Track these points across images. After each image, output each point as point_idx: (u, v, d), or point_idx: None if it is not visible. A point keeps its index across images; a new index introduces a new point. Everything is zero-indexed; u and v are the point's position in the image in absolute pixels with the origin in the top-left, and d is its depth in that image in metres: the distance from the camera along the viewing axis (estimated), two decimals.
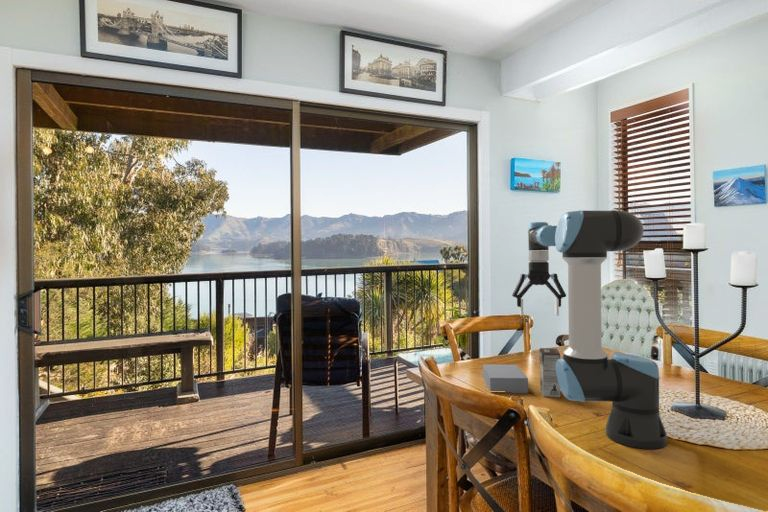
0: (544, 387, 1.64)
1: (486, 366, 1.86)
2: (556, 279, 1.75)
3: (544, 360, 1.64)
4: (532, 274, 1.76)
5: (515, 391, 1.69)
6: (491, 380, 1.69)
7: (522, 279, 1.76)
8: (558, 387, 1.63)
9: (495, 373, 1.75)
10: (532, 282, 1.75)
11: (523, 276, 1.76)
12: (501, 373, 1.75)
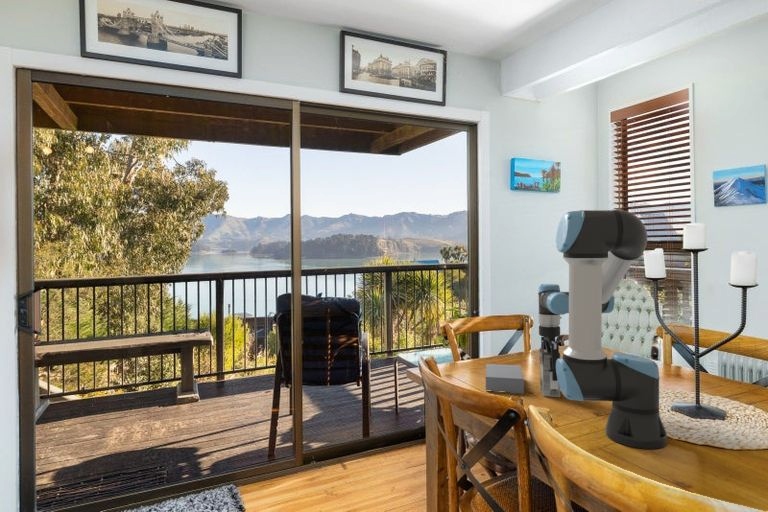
0: (544, 387, 1.64)
1: (488, 366, 1.87)
2: (551, 349, 1.62)
3: (544, 360, 1.64)
4: (544, 337, 1.71)
5: (511, 391, 1.69)
6: (487, 379, 1.71)
7: (541, 342, 1.74)
8: (558, 387, 1.63)
9: (493, 373, 1.76)
10: (543, 346, 1.70)
11: (541, 339, 1.74)
12: (499, 373, 1.76)
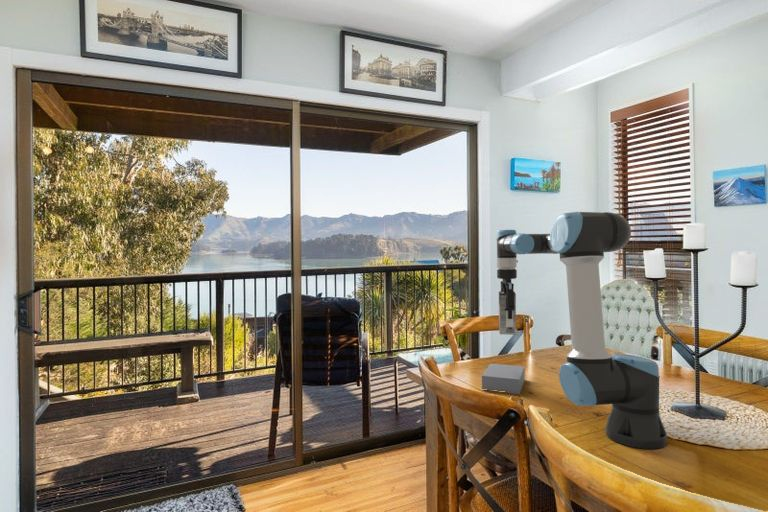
0: (501, 325, 1.74)
1: (491, 365, 1.87)
2: (506, 289, 1.72)
3: (501, 300, 1.74)
4: None
5: (506, 391, 1.69)
6: (483, 378, 1.72)
7: None
8: (513, 325, 1.73)
9: (492, 372, 1.77)
10: (501, 289, 1.80)
11: (501, 283, 1.84)
12: (498, 372, 1.76)
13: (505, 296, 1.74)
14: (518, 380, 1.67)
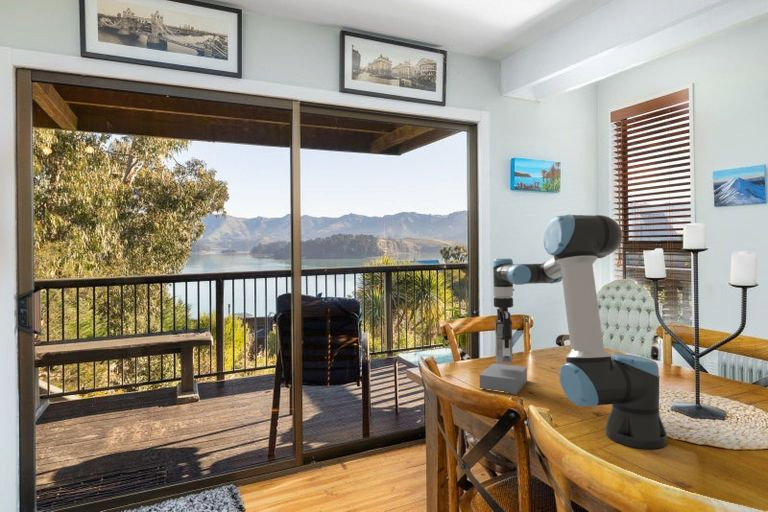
0: (497, 354, 1.75)
1: (493, 365, 1.88)
2: (503, 318, 1.73)
3: (497, 329, 1.75)
4: (499, 308, 1.82)
5: (504, 391, 1.69)
6: (480, 377, 1.73)
7: (497, 314, 1.85)
8: (510, 354, 1.74)
9: (491, 372, 1.77)
10: (497, 317, 1.81)
11: (497, 311, 1.85)
12: (497, 372, 1.76)
13: (502, 325, 1.74)
14: (515, 380, 1.67)
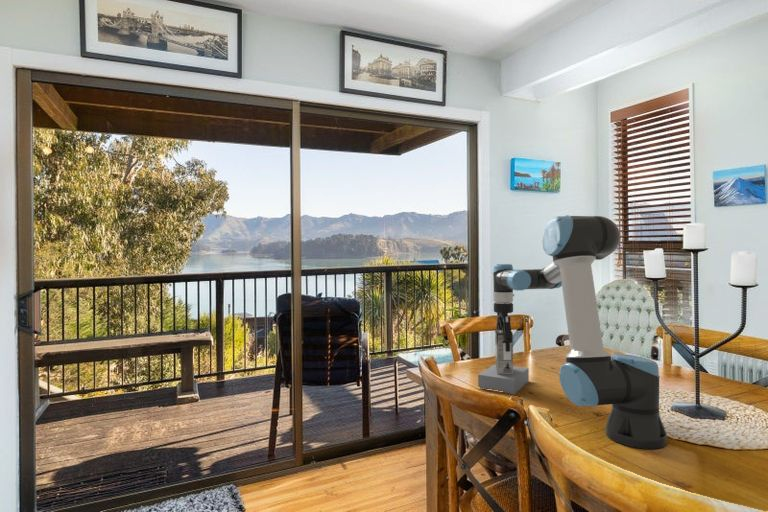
0: (498, 365, 1.74)
1: (495, 365, 1.88)
2: (503, 322, 1.72)
3: (498, 340, 1.74)
4: (499, 314, 1.81)
5: None
6: (479, 377, 1.74)
7: (497, 317, 1.85)
8: (511, 365, 1.74)
9: (491, 372, 1.78)
10: (497, 321, 1.82)
11: (497, 314, 1.85)
12: (496, 372, 1.77)
13: (502, 336, 1.74)
14: (513, 380, 1.67)
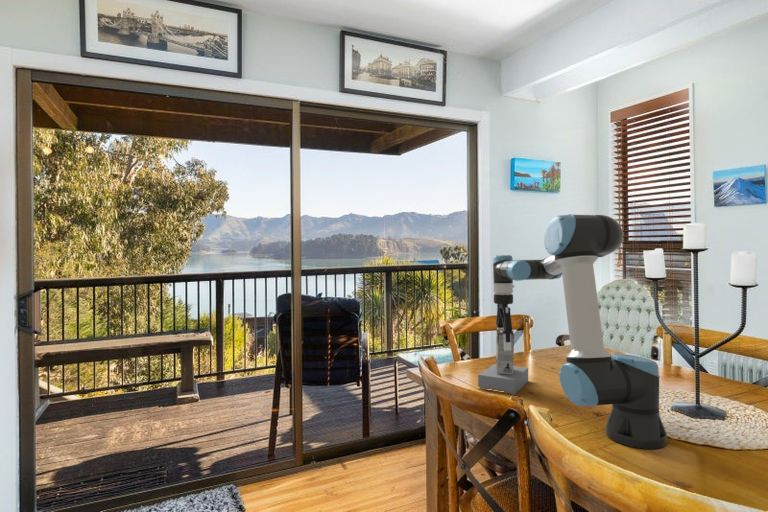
0: (498, 365, 1.74)
1: (495, 365, 1.88)
2: (503, 313, 1.72)
3: (499, 339, 1.74)
4: (499, 305, 1.81)
5: None
6: (479, 377, 1.74)
7: (497, 309, 1.85)
8: (511, 365, 1.74)
9: (490, 372, 1.78)
10: (497, 313, 1.82)
11: (497, 306, 1.85)
12: (496, 372, 1.77)
13: (503, 336, 1.74)
14: (513, 381, 1.67)
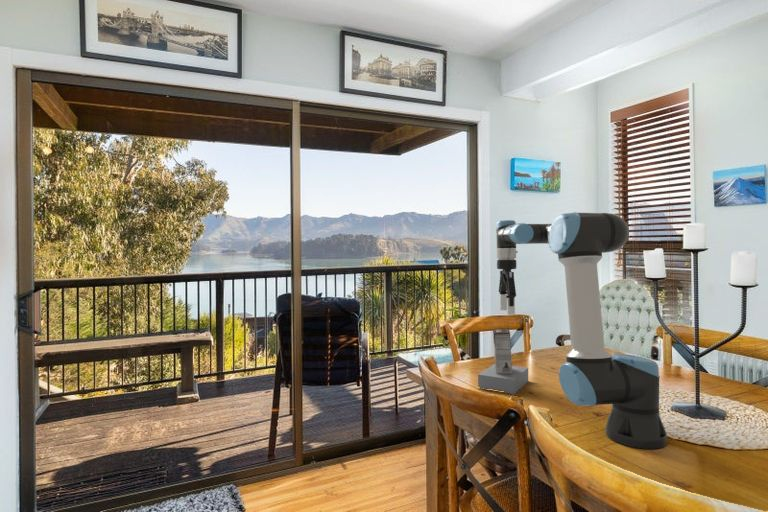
0: (497, 365, 1.75)
1: (494, 365, 1.88)
2: (507, 277, 1.72)
3: (496, 340, 1.75)
4: (502, 271, 1.81)
5: None
6: (479, 377, 1.74)
7: (500, 276, 1.85)
8: (509, 364, 1.74)
9: (490, 372, 1.78)
10: (500, 279, 1.82)
11: (500, 273, 1.85)
12: None
13: (500, 335, 1.74)
14: (513, 380, 1.67)
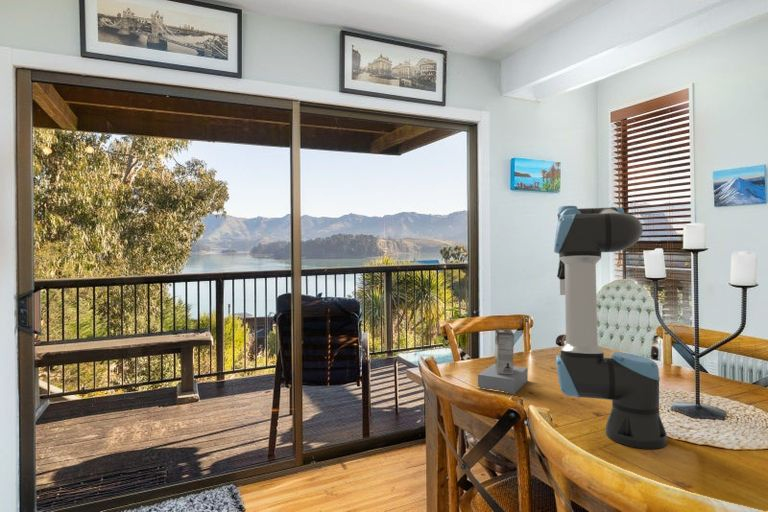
0: (498, 365, 1.74)
1: (494, 365, 1.88)
2: None
3: (499, 339, 1.74)
4: None
5: None
6: (479, 377, 1.74)
7: (559, 261, 1.88)
8: (511, 365, 1.74)
9: (490, 372, 1.78)
10: (561, 264, 1.85)
11: None
12: (496, 372, 1.77)
13: (503, 335, 1.74)
14: (512, 380, 1.67)
